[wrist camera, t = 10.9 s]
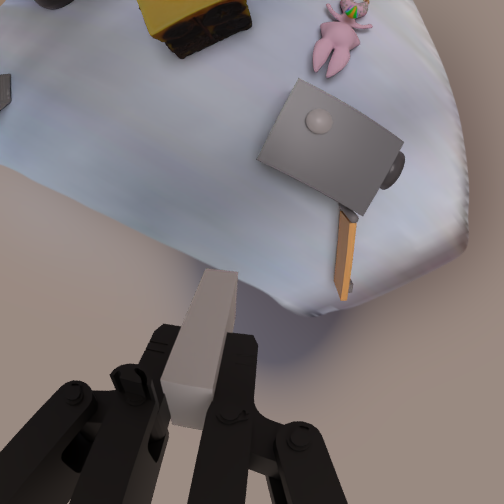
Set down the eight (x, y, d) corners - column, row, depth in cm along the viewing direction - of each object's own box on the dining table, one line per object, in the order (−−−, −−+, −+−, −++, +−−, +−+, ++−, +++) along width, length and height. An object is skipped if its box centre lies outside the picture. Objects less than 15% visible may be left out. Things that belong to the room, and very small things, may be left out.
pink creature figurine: (333, -7, 24) (293, 68, 27) (343, -30, 18) (301, 47, 22) (374, 13, 24) (342, 91, 28) (391, -6, 18) (358, 75, 22)
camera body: (260, 154, 33) (255, 161, 25) (293, 90, 29) (299, 76, 21) (358, 207, 34) (380, 229, 26) (391, 148, 31) (423, 154, 23)
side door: (339, 201, 34) (350, 214, 29) (353, 202, 33) (366, 214, 28) (333, 280, 38) (340, 302, 33) (345, 280, 38) (354, 301, 33)
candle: (181, 60, 28) (149, 40, 19) (156, 9, 25) (123, -18, 16) (255, 28, 26) (248, -6, 17) (225, -22, 23) (209, -60, 14)
